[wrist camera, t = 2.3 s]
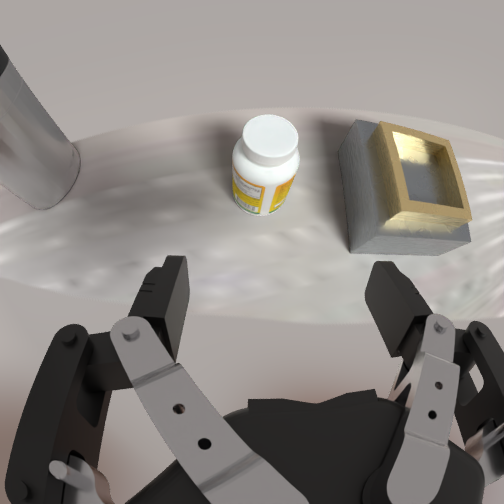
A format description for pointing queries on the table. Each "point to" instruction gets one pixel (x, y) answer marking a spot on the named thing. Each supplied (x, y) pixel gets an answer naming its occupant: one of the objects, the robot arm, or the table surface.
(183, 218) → the table surface
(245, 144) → the supplement bottle
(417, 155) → the gold-rimmed square tray
